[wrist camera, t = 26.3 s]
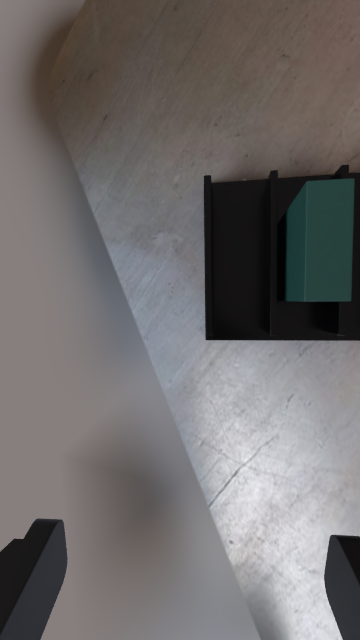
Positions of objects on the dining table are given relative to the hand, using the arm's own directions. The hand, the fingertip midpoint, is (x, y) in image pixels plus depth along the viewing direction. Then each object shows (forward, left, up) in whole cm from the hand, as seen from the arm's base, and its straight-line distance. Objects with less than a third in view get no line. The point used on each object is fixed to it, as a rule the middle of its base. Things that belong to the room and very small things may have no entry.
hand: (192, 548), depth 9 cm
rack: (+11, +9, -24) cm, 28 cm away
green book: (+11, +9, -23) cm, 27 cm away
